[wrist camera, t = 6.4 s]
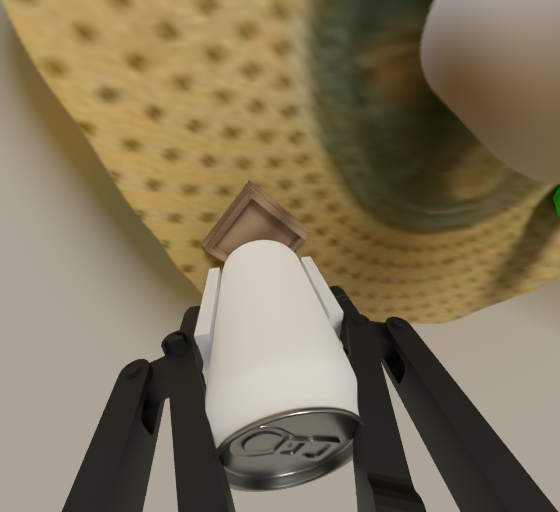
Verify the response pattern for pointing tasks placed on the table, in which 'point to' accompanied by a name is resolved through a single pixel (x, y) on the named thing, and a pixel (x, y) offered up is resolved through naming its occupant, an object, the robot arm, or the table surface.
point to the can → (277, 375)
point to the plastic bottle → (557, 201)
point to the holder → (253, 224)
